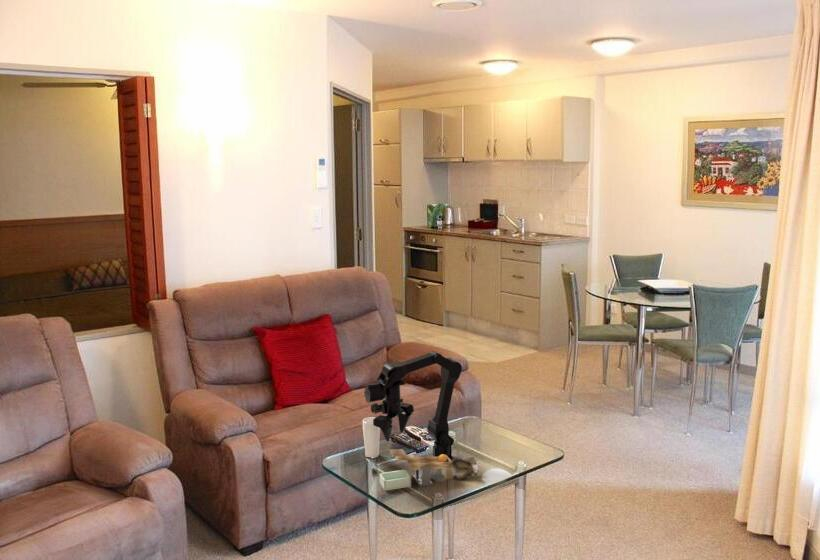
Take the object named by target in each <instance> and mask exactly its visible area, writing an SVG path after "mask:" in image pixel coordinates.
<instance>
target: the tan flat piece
mask: <svg viewBox="0 0 820 560" xmlns="http://www.w3.org/2000/svg"><path fill="white" fill-rule="evenodd" d="M389 453H390V454H391V455H392V457H393V459H395V460H396V461H398V462H399V461H400V462H401V461H406V464H407V465H408V467H409V468H410V469H411V470H412V471H415V470H421V469H422V466H429V465H430V470H437V469H441V470H442V468H451V466H452V465H453V464H452V462H453V461H452V459H449V457H448V456H447V455H446V456H447V461H446V462H439V460H438V458H439V456H437V457H434V456H418V457H417V456H416V457H415V455H414V454H407V453H406V451H404V449H403V448H398V449H397V448H396V449H395V448H394V449H389Z"/></svg>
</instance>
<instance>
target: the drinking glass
mask: <svg viewBox="0 0 820 560" xmlns="http://www.w3.org/2000/svg"><path fill="white" fill-rule="evenodd" d="M376 417H377V416H375V417H374V416H369V417H365V418H363V419H362V433H363V443H364V455H365V457H366V458H367V457H374V458H373V459H376V458H378V457H379V455H380V452H379V451H380V438H381V437H380V436H381V435H380V434H381V429H380V428H379V427H376V426H374V425H373V420H374V419H375V418H376Z"/></svg>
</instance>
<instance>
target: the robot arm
mask: <svg viewBox="0 0 820 560" xmlns="http://www.w3.org/2000/svg"><path fill="white" fill-rule="evenodd" d="M436 364H437V365H439V366H440V375H441V385H440V391H439V395H438V401H437V406H436V409H435V415H434V417H433V418H432V419H430V418H429V419H428V422H427V423H428V424H427V427H426V429H427V434H428V435H429V436H430V437H431V439H432V440H433V445H432V457H437V456H440V455H441V454H444V455H447V456H448V457H449V459H450V460H454V456H453V455H452V453H453V451H452V450H453V449H452V446H454V443H455V439H454V438H453V437H451V436H450V435H449V434H450V433H449V431H450V427H449V421H448V417H449V412H450V407H451V402H452V397H453V392H454V387H455V385H456V384H455V383H456V382H457V381H458V380H459V379H460V376H461V374H462V371H463V366H462V364H461V363H460V362H458V360H455V359H454V358H452V357H445V356H443V355H442V354H441V353H439V352H437V351H436V350H431V351H429V352H427V353H426V354H425V353H424V354H423V355H419V356H417V357H413V358H411V359H408V360H405V361H392V362H387V363H385V364H384V365H383V367H382V368H381V369H382V370H381V372H380V374H379V375H378V377H377V379H376V382H373V383H366V384H365V385H366V387H365V388H364V392H363V393H364V397H365V401H366V402H367V404H368V403H369V404H370V403H372V404H371V405H370V411H371V413H372V414H376V415H377V414H379V413H382V414H383V415H381V414H380V415H378V416H375V417H376V418H375V419H374V420H373V425H374V426H376V427H379V428H380V431H382V434H383V436H384V439H385V441H386V442H389V441H390V438H391V436H392V435H391V434H392V429H393V425H392V424H393V419H395V418H397V419H398V424H399V431H400V433H403V432H404V431H405V428H406V426H407V424H408V422H409V420H410V418H411V416H412V415H413V412H415V410H414V409H415V408H414V405H413V404H411V403H405V402H404V398H401V386H403V385H404V386H405V385H406V382H405V381H403V379H404V378H405V377H406V376H408V375H409V374H410V373H414V372H416V371H419V370H421V369H425V368H427V367H430V366H433V365H436ZM386 379H387V380H386ZM378 401H379V402H378Z"/></svg>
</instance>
